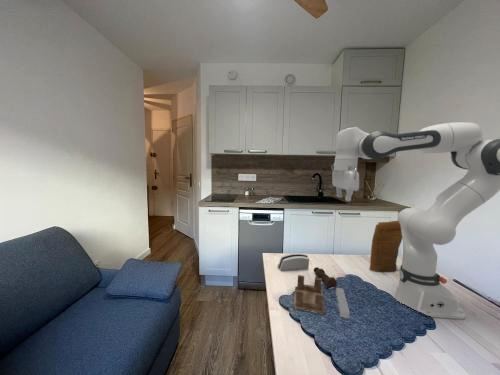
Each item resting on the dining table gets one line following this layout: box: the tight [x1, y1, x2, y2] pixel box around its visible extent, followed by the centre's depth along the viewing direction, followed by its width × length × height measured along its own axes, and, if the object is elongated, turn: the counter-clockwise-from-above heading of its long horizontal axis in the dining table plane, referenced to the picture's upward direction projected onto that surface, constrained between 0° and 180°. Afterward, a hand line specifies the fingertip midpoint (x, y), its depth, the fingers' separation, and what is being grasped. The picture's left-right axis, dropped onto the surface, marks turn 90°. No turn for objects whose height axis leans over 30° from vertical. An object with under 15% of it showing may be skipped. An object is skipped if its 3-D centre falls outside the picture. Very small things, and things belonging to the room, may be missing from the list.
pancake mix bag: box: [368, 220, 403, 273], centre depth 118 cm, size 7×19×28 cm, turn 97°
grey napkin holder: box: [277, 252, 310, 272], centre depth 119 cm, size 17×5×10 cm, turn 102°
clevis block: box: [292, 274, 326, 315], centre depth 91 cm, size 12×15×7 cm
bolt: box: [313, 266, 338, 289], centre depth 107 cm, size 6×5×15 cm
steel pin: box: [335, 287, 351, 320], centre depth 89 cm, size 3×16×3 cm, turn 165°
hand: (343, 199), depth 93 cm, fingers open, 8 cm apart
